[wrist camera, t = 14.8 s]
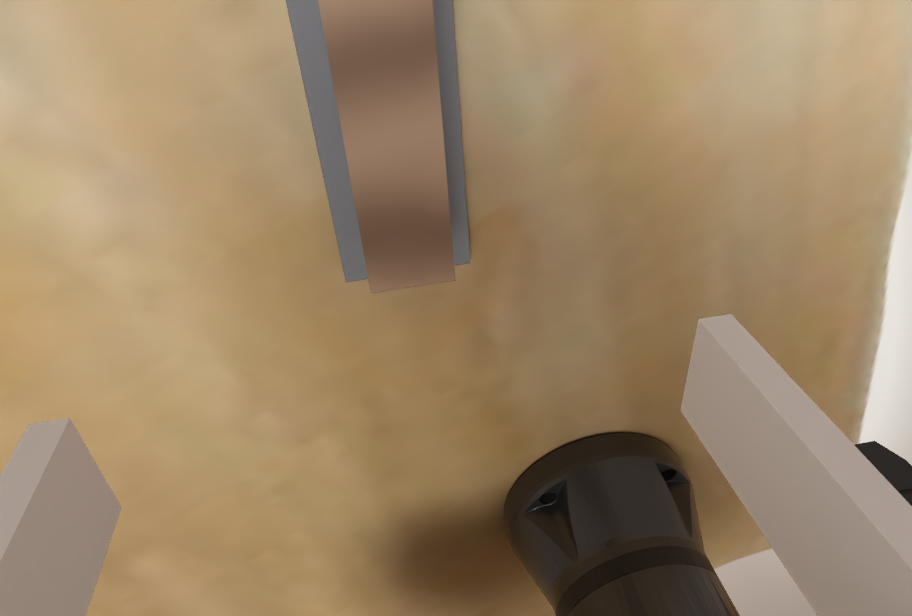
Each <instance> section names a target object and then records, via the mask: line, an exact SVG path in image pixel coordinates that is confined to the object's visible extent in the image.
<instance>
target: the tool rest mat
mask: <svg viewBox="0 0 912 616" xmlns="http://www.w3.org/2000/svg"><path fill="white" fill-rule="evenodd" d="M432 1H433V13H434V25H435V37H436V50H437V62H438V74H439V87H440V99H441V111H442V124H443V136H444V148H445V161H446V173H447V185H448V198H449V210H450V222H451V235H452V247H453V259H454V266H455V265H462V264H468V263H470V249H469V235H468V220H467V206H466V191H465V177H464V162H463V148H462V133H461V119H460V104H459V90H458V75H457V61H456V46H455V32H454V17H453V3H452V0H432ZM286 4H287V8H288V13H289V18H290V22H291V27H292V32H293V37H294V41H295V46H296V51H297V55H298V60H299V65H300V69H301V74H302V79H303V83H304V88H305V93H306V97H307V102H308V107H309V111H310V116H311V121H312V125H313V130H314V135H315V139H316V144H317V149H318V153H319V158H320V163H321V168H322V172H323V177H324V182H325V186H326V191H327V196H328V200H329V205H330V210H331V214H332V219H333V224H334V228H335V233H336V238H337V242H338V247H339V252H340V256H341V261H342V266H343V270H344V275H345V280H346V282H352V281H358V280H365V279H368V274H367V268H366V263H365V257H364V252H363V246H362V241H361V235H360V230H359V224H358V219H357V213H356V208H355V202H354V196H353V191H352V185H351V180H350V174H349V169H348V163H347V158H346V152H345V147H344V141H343V136H342V130H341V124H340V119H339V113H338V108H337V102H336V97H335V91H334V86H333V80H332V75H331V69H330V63H329V58H328V52H327V47H326V41H325V36H324V30H323V25H322V19H321V14H320V8H319V3H318V0H286Z"/></svg>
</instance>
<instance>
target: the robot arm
mask: <svg viewBox="0 0 912 616" xmlns="http://www.w3.org/2000/svg"><path fill="white" fill-rule="evenodd" d="M680 411H681V412H682V414H683V415H684V417H685V418H686V420H687V421H688V423H689V424H690V426H691V427H692V429H693V430H694V432H695V433H696V435H697V436H698V438H699V439H700V441H701V442H702V444H703V445H704V447H705V448H706V450H707V451H708V453H709V454H710V456H711V457H712V459H713V460H714V462H715V463H716V465H717V466H718V468H719V469H720V471H721V472H722V474H723V475H724V477H725V478H726V480H727V481H728V482H729V484H730V485H731V487H732V488H733V490H734V491H735V493H736V494H737V496H738V497H739V499H740V500H741V502H742V503H743V505H744V506H745V508H746V509H747V511H748V512H749V514H750V515H751V517H752V518H753V520H754V521H755V523H756V524H757V526H758V527H759V529H760V530H761V532H762V533H763V535H764V536H765V538H766V539H767V541H768V542H769V544H770V545H771V547H772V548H773V550H774V551H775V553H776V554H777V556H778V557H779V559H780V560H781V562H782V563H783V565H784V566H785V568H786V569H787V570H788V572H789V574H790V575H791V577H792V578H793V580H794V581H795V583H796V584H797V586H798V587H799V589H800V590H801V592H802V593H803V594H804V596H805V597H806V599H807V600H808V602H809V603H810V605H811V606H812V608H813V609H814V611H815V612H816V614H817V615H818V616H912V466H911V465H910V464H909V463H908V462H907V461H906V460H905V459H903V458H901V457H899V456H898V455H896V454H895V453H893V452H892V451H890V450H888V449H887V448H885V447H883V446H882V445H880V444H879V443H877V442H875V441H873V442H867V443H862V444H856V445H854V444H853V443H852V442H851V441H850V440H849V439H848V438H847V437H846V436H845V435H844V434H843V433H842V431H841V430H840V429H839V428H838V427H837V426H836V425H835V424H834V423H833V422H832V421H831V420H830V419H829V418H828V417H827V415H826V414H825V413H824V412H823V411H822V410H821V409H820V408H819V407H818V406H817V405H816V404H815V403H814V402H813V401H812V400H811V398H810V397H809V396H808V395H807V394H806V393H805V392H804V391H803V390H802V389H801V388H800V387H799V386H798V385H797V384H796V382H795V381H794V380H793V379H792V378H791V377H790V376H789V375H788V374H787V373H786V372H785V371H784V370H783V369H782V368H781V366H780V365H779V364H778V363H777V362H776V361H775V360H774V359H773V358H772V357H771V356H770V355H769V354H768V353H767V352H766V351H765V349H764V348H763V347H762V346H761V345H760V344H759V343H758V342H757V341H756V340H755V339H754V338H753V337H752V336H751V335H750V333H749V332H748V331H747V330H746V329H745V328H744V327H743V326H742V325H741V324H740V323H739V322H738V321H737V320H736V319H735V317H734V316H733V315H732V314H728V315H721V316H715V317H709V318H702V319H698V323H697V328H696V333H695V339H694V344H693V349H692V354H691V359H690V364H689V369H688V374H687V379H686V384H685V389H684V394H683V399H682V404H681V409H680ZM120 510H121V505H120V504H119V502H118V500H117V498H116V497H115V495H114V493H113V491H112V490H111V488H110V486H109V485H108V483H107V481H106V479H105V478H104V476H103V474H102V473H101V471H100V469H99V467H98V466H97V464H96V462H95V461H94V459H93V457H92V455H91V454H90V452H89V450H88V448H87V447H86V445H85V443H84V442H83V440H82V438H81V436H80V435H79V433H78V431H77V430H76V428H75V426H74V424H73V423H72V421H71V419H70V418H67V419H61V420H54V421H48V422H42V423H35V424H29V425H28V427H27V429H26V431H25V432H24V434H23V436H22V438H21V440H20V441H19V443H18V445H17V447H16V449H15V450H14V452H13V454H12V456H11V458H10V459H9V461H8V463H7V465H6V467H5V468H4V470H3V472H2V474H1V476H0V616H86V613H87V610H88V607H89V604H90V601H91V598H92V595H93V592H94V589H95V586H96V583H97V580H98V577H99V573H100V570H101V567H102V564H103V561H104V558H105V555H106V552H107V549H108V546H109V543H110V540H111V537H112V534H113V531H114V528H115V525H116V522H117V519H118V516H119V513H120ZM504 520H505V524H506V527H507V531H508V535H509V538H510V542H511V545H512V547H513V549H514V551H515V553H516V555H517V556H518V558H519V559H520V560H521V562H522V563H523V565H524V566H525V568H526V569H527V571H528V572H529V573H530V575H531V576H532V578H533V579H534V581H535V582H536V584H537V585H538V586H539V588H540V589H541V591H542V592H543V594H544V595H545V597H546V598H547V600H548V601H549V602H550V604H551V605H552V607H553V609H554V611H555V614H556V616H740V615H739V614H738V612H737V610H736V608H735V606H734V605H733V603H732V601H731V599H730V598H729V596H728V594H727V592H726V590H725V589H724V587H723V585H722V583H721V582H720V580H719V578H718V576H717V574H716V573H715V571H714V569H713V567H712V565H711V564H710V561H709V560H708V558H707V556H706V554H705V551H704V547H703V542H702V536H701V531H700V526H699V520H698V515H697V510H696V504H695V499H694V494H693V489H692V484H691V481H690V479H689V477H688V474H687V473H686V471H685V469H684V468H683V466H682V464H681V462H680V461H679V459H678V457H677V456H676V454H675V453H674V452H673V450H672V449H671V448H670V447H668V446H667V445H666V444H664V443H663V442H661V441H659V440H657V439H654V438H652V437H648V436H644V435H639V434H630V433H615V434H605V435H599V436H594V437H590V438H586V439H583V440H580V441H577V442H574V443H571V444H569V445H566V446H564V447H562V448H560V449H558V450H556V451H554V452H552V453H550V454H549V455H547V456H545V457H544V458H542V459H541V460H539V461H538V462H537V463H535V464H534V465H533V466H532V467H530V468H529V469H528V470H527V471H526V472H525V473H524V474H523V475H522V476H521V477H520V478H519V479H518V481H517V482H516V483H515V485H514V486H513V488H512V489H511V491H510V493H509V495H508V497H507V500H506V503H505V508H504Z"/></svg>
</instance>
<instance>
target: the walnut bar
mask: <svg viewBox="0 0 912 616" xmlns="http://www.w3.org/2000/svg"><path fill="white" fill-rule="evenodd" d="M318 3H319V8H320V14H321V19H322V25H323V30H324V36H325V41H326V47H327V52H328V58H329V63H330V69H331V75H332V80H333V86H334V91H335V97H336V102H337V108H338V113H339V119H340V124H341V130H342V136H343V141H344V147H345V152H346V158H347V163H348V169H349V174H350V180H351V185H352V191H353V196H354V202H355V208H356V213H357V219H358V224H359V230H360V235H361V241H362V246H363V252H364V257H365V263H366V268H367V274H368V280H369V285H370V291H371V293H376V292H383V291H389V290H396V289H402V288H409V287H415V286H422V285H429V284H435V283H442V282H448V281H455V272H454V259H453V247H452V235H451V222H450V210H449V198H448V185H447V173H446V161H445V148H444V136H443V124H442V111H441V99H440V87H439V74H438V62H437V50H436V37H435V25H434V13H433V1H432V0H318Z"/></svg>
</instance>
